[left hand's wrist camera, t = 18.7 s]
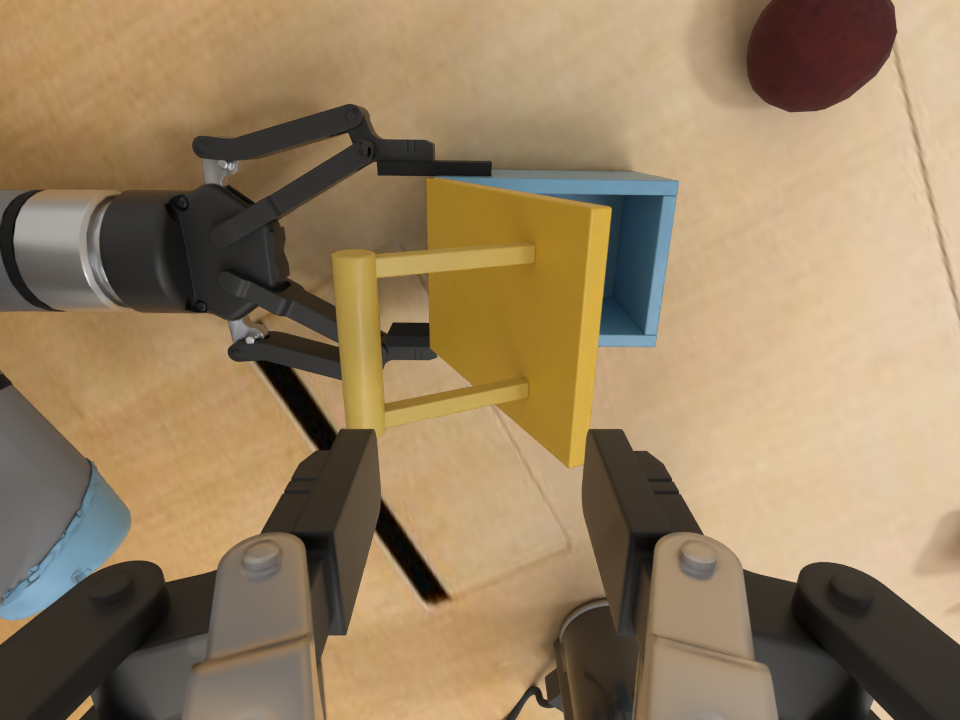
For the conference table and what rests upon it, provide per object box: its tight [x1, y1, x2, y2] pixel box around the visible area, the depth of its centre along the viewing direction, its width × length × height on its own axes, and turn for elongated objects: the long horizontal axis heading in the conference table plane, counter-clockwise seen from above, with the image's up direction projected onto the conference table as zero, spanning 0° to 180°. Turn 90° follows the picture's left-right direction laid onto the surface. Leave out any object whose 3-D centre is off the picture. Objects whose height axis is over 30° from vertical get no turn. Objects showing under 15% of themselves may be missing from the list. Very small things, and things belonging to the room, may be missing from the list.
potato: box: [747, 0, 897, 112], centre depth 33 cm, size 7×8×7 cm
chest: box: [434, 169, 679, 347], centre depth 36 cm, size 14×10×10 cm
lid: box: [331, 178, 612, 468], centre depth 24 cm, size 14×10×8 cm
